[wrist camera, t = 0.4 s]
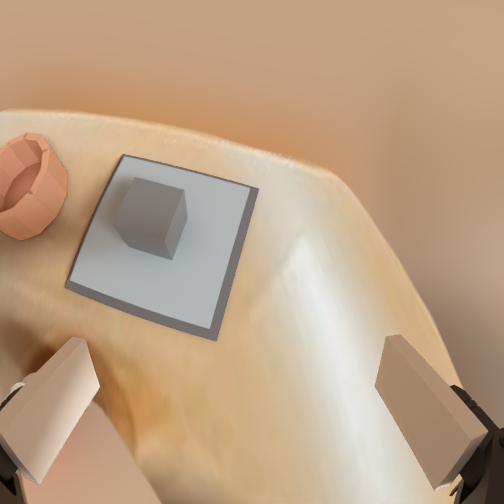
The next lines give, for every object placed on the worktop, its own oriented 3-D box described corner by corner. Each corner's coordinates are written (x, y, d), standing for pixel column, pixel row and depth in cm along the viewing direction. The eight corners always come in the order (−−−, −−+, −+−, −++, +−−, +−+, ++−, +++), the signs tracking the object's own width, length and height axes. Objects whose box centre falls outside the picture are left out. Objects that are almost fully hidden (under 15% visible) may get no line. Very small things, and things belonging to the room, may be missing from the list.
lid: (209, 329, 28) (209, 326, 22) (74, 282, 27) (42, 265, 21) (248, 193, 34) (259, 158, 27) (126, 161, 33) (113, 124, 26)
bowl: (44, 251, 28) (16, 232, 22) (-9, 227, 27) (-35, 209, 21) (83, 167, 32) (66, 138, 26) (27, 155, 31) (8, 130, 25)
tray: (216, 341, 29) (216, 341, 28) (66, 288, 27) (64, 287, 27) (258, 190, 34) (259, 188, 34) (123, 155, 33) (123, 154, 33)
